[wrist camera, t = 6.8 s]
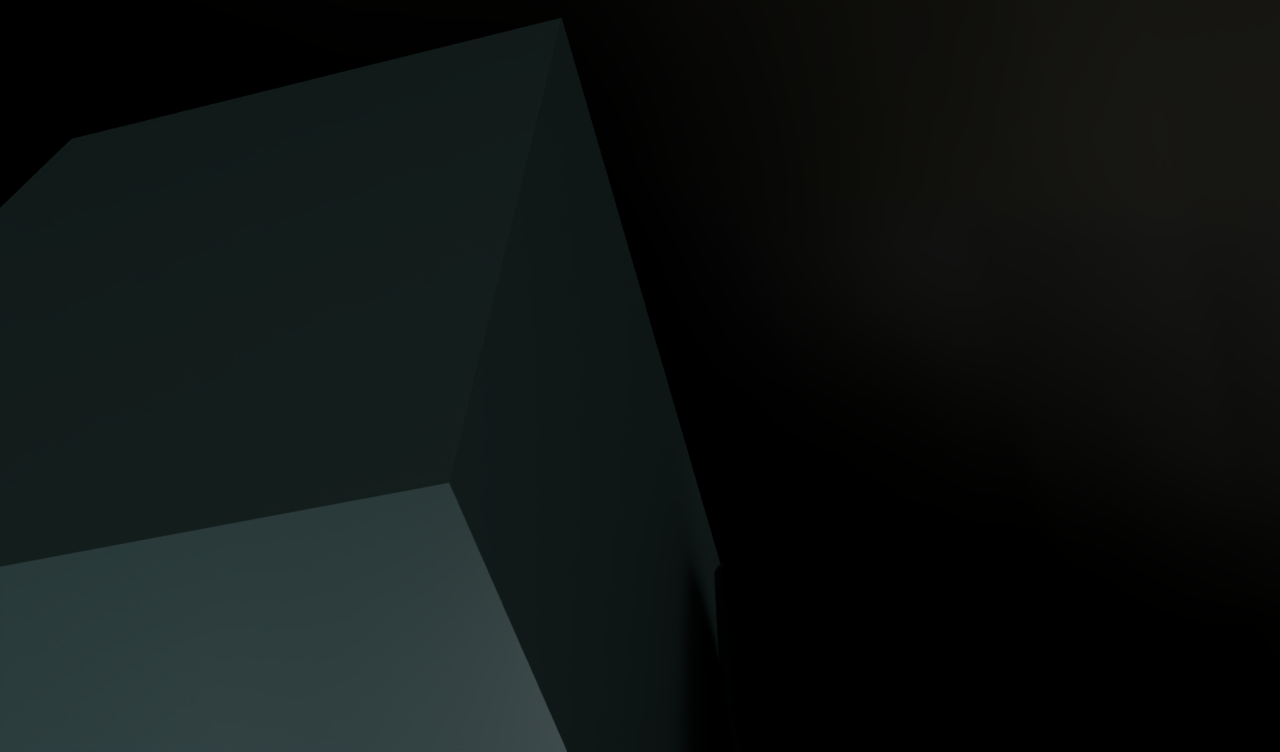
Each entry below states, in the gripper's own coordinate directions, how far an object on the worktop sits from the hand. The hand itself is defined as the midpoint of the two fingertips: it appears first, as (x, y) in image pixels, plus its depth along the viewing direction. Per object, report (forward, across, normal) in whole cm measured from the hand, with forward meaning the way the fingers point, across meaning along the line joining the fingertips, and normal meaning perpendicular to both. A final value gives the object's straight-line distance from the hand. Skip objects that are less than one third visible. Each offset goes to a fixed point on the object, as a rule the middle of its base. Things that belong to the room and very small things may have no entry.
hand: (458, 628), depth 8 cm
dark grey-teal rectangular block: (+1, -1, +5) cm, 5 cm away
